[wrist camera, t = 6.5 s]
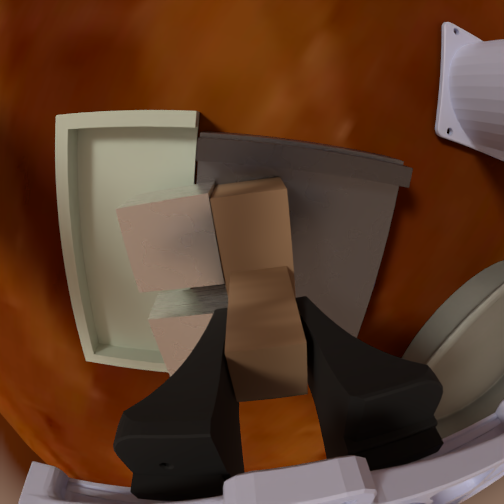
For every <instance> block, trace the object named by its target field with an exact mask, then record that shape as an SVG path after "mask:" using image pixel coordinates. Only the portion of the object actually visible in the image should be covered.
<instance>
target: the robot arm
mask: <svg viewBox="0 0 504 504" xmlns="http://www.w3.org/2000/svg"><path fill="white" fill-rule="evenodd" d="M454 31H455V32H456V34H455V33H454ZM448 128H449V134H447V129H448ZM435 131H436V134H437V135H438V136H439V137H442V138H445V139H448V140H450V141H453V142H456V143H459V144H462V145H464V146H467V147H470V148H472V149H475V150H477V151H480V152H482V153H485V154H487V155H490V156H492V157H494V158H497V159H499V160H501V161H504V39H502V40H494V41H486V42H483V41H482V40H480V39H479V38H477V37H475V36H474V35H472V34H470V33H468V32H467V31H465V30H463V29H461V28H460V27H458V26H456V25H454V24H452V23H450V22H445V23H443V24H442V48H441V71H440V86H439V97H438V107H437V116H436V124H435ZM295 300H296V304H297V307H298V311H299V315H300V319H301V323H302V327H303V331H304V335H305V339H306V343H307V382H308V385H309V388H310V390H311V393H312V396H313V399H314V402H315V406H316V410H317V414H318V419H319V423H320V427H321V432H322V437H323V441H324V446H325V452H326V457H327V459H325V460H320V461H316V462H310V463H305V464H300V465H294V466H287V467H281V468H274V469H266V470H257V471H251V472H246V473H244V464H243V455H242V445H241V435H240V423H239V402H237V399H236V395H235V392H234V388H233V384H232V380H231V376H230V372H229V368H228V364H227V360H226V356H225V339H226V324H227V310H228V308H220V309H216V310H215V311H214V313H213V315H212V317H211V319H210V321H209V323H208V325H207V327H206V329H205V331H204V333H203V334H202V336H201V338H200V340H199V341H198V343H197V344H196V346H195V347H194V349H193V350H192V352H191V353H190V355H189V356H188V357H187V359H186V360H185V361H184V362H183V364H182V365H181V366H180V367H179V368H178V369H177V371H176V372H175V373H174V374H173V375H172V376H171V377H170V378H169V379H168V380H167V381H166V382H165V383H164V384H162V385H161V386H160V387H159V388H158V389H156V390H155V391H154V392H153V393H151V394H150V395H149V396H147V397H146V398H145V399H143V400H142V401H140V402H138V403H137V404H135V405H134V406H132V407H130V408H129V409H127V410H125V411H124V412H123V415H122V417H121V419H120V422H119V425H118V428H117V432H116V436H115V440H114V444H113V447H114V451H115V452H116V454H117V456H118V457H119V458H120V459H121V460H122V461H123V462H124V463H125V465H126V466H127V467H128V468H129V469H130V470H131V471H132V472H133V478H132V484H131V488H130V487H121V486H114V485H106V484H100V483H94V482H88V481H83V480H78V479H73V478H69V477H68V476H67V475H66V474H65V473H64V472H63V471H62V470H60V469H59V468H57V467H54V466H51V465H47V464H43V463H39V462H35V461H33V462H32V464H31V467H30V470H29V473H28V476H27V478H26V481H25V484H24V487H23V490H22V493H21V496H20V500H19V503H18V504H460V503H461V502H463V501H465V500H466V499H468V498H470V497H472V496H473V495H475V494H476V493H478V492H479V491H481V490H483V489H484V488H486V487H487V486H489V485H490V484H492V483H493V482H494V481H496V480H498V479H499V478H501V477H502V476H503V475H504V399H503V400H502V401H501V403H500V404H499V406H498V407H497V409H496V412H495V413H493V414H491V415H489V416H488V417H486V418H484V419H482V420H480V421H478V422H476V423H475V424H473V425H471V426H469V427H467V428H465V429H463V430H460V431H458V432H456V433H454V434H452V435H450V436H448V437H445V438H443V439H442V438H441V436H440V435H439V433H438V431H437V429H436V426H437V424H438V423H437V420H436V418H435V416H434V413H435V411H436V409H437V407H438V405H439V403H440V400H441V398H442V395H443V386H442V384H441V382H440V381H439V379H438V378H437V376H436V375H435V373H434V372H433V371H432V370H431V368H430V367H429V366H428V365H426V364H421V363H417V362H413V361H409V360H405V359H402V358H399V357H396V356H393V355H390V354H388V353H385V352H383V351H381V350H378V349H376V348H374V347H372V346H370V345H368V344H366V343H364V342H362V341H361V340H359V339H357V338H356V337H354V336H352V335H351V334H349V333H348V332H347V331H345V330H344V329H342V328H341V327H340V326H338V325H337V324H336V323H335V322H334V321H332V320H331V319H330V318H329V317H328V316H327V315H325V314H324V313H323V312H322V311H321V310H320V309H319V308H318V307H317V306H316V305H315V304H314V303H313V302H312V301H311V300H310V299H309V298H308V297H306V296H303V297H297V298H295Z"/></svg>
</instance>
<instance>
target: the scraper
mask: <svg viewBox="0 0 504 504" xmlns="http://www.w3.org/2000/svg"><path fill="white" fill-rule="evenodd" d="M210 202H211V208H212V213H213V219H214V225H215V230H216V236H217V242H218V247H219V253H220V258H221V264H222V269H223V274H224V280H225V285H226V290H227V295H228V310H227V324H226V339H225V356H226V360H227V364H228V368H229V372H230V376H231V380H232V384H233V388H234V392H235V395H236V399H237V402H243V401H254V400H264V399H273V398H282V397H289V396H297V395H304V394H307V343H306V339H305V335H304V331H303V327H302V323H301V319H300V315H299V311H298V307H297V304H296V300H295V298H296V294H295V280H294V266H293V252H292V240H291V228H290V216H289V205H288V195H287V188H286V186H285V185H284V183H283V181H282V180H281V178H280V177H275V178H267V179H258V180H250V181H243V182H235V183H228V184H221V185H215V188H214V190H213V193H212V195H211V198H210Z"/></svg>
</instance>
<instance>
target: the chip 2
mask: <svg viewBox="0 0 504 504" xmlns="http://www.w3.org/2000/svg"><path fill="white" fill-rule="evenodd" d="M220 308H228V295H227V290H226V285H221V286H213V287H205V288H196V289H188V290H179V291H170V292H161V293H158V296H157V298H156V301H155V303H154V305H153V308H152V310H151V313H150V315H149V318H148V321H149V324H150V327H151V329H152V332H153V335H154V337H155V340H156V343H157V345H158V348H159V350H160V353H161V355H162V358H163V360H164V363H165V365H166V368H167V370H168V373H169V375H170V377H171V376H172V375H173V374H174V373H175V372H176V371H177V369H178V368H179V367H180V366H181V365H182V364H183V362H184V361H185V360H186V359H187V357H188V356H189V355H190V353H191V352H192V350H193V349H194V347H195V346H196V344H197V343H198V341H199V340H200V338H201V336H202V334H203V333H204V331H205V329H206V327H207V325H208V323H209V321H210V319H211V317H212V315H213V313H214V311H215V310H216V309H220Z"/></svg>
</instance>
